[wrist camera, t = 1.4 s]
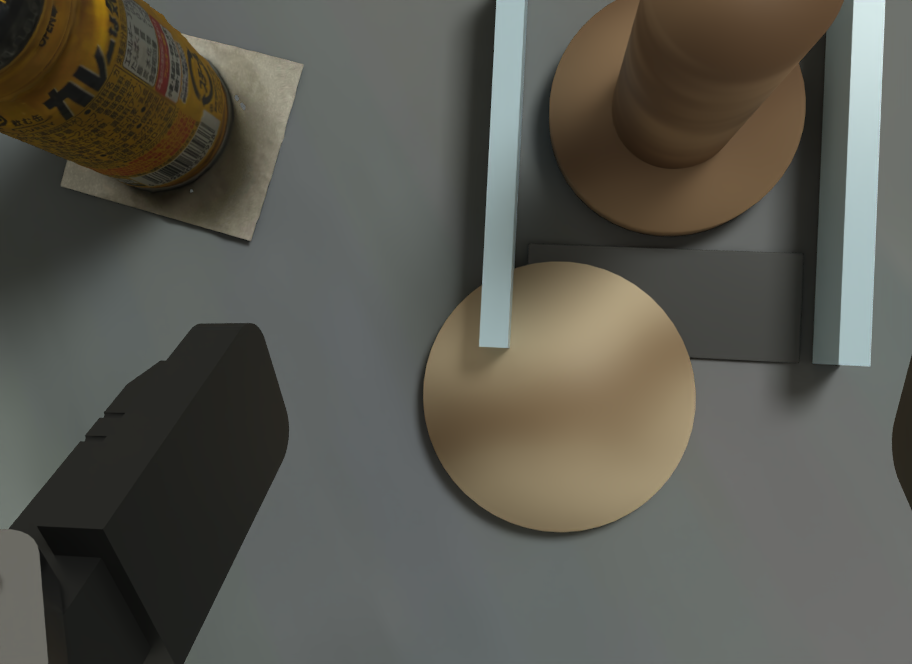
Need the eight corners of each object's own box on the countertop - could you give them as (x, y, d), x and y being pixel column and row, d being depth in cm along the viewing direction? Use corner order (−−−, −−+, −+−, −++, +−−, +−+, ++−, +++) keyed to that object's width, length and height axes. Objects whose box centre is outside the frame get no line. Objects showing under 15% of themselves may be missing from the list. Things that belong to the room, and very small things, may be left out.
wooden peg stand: (504, 85, 30) (481, -71, 19) (707, -49, 29) (808, -293, 18) (631, 282, 29) (686, 240, 18) (843, 149, 28) (1036, 21, 17)
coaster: (377, 353, 30) (373, 353, 29) (598, 212, 29) (599, 209, 28) (514, 577, 29) (514, 582, 28) (745, 439, 28) (750, 441, 28)
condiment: (112, 16, 31) (-150, -188, 20) (305, 66, 31) (152, -117, 19) (63, 187, 32) (-228, 88, 20) (254, 242, 31) (69, 173, 19)
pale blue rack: (841, 365, 28) (870, 366, 25) (484, 346, 29) (478, 346, 27) (856, -17, 28) (887, -53, 26) (502, -16, 30) (498, -50, 27)
